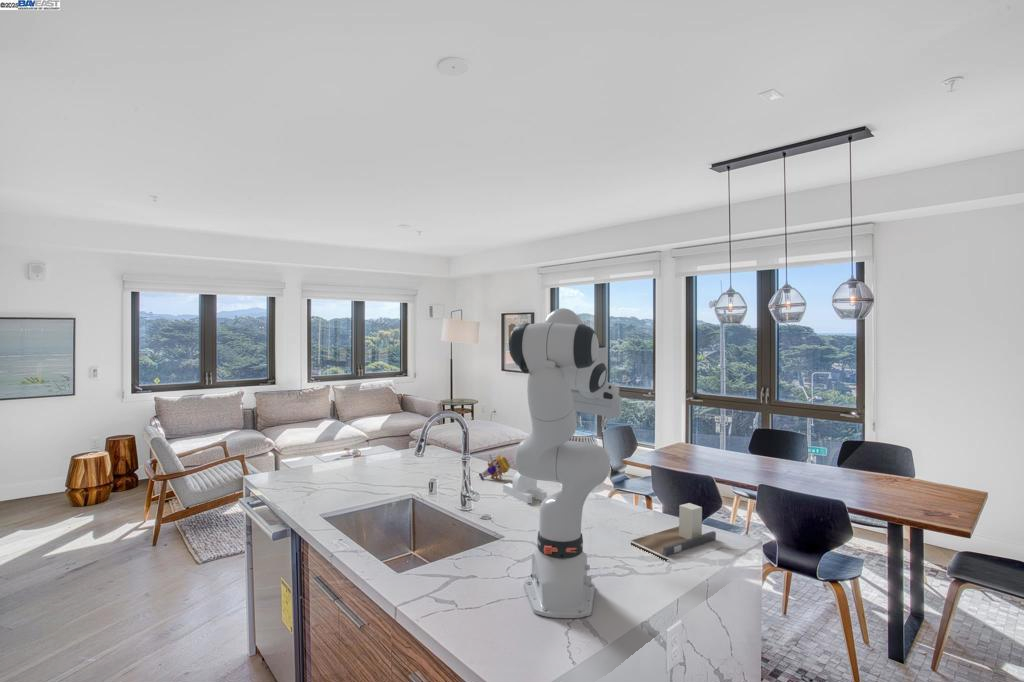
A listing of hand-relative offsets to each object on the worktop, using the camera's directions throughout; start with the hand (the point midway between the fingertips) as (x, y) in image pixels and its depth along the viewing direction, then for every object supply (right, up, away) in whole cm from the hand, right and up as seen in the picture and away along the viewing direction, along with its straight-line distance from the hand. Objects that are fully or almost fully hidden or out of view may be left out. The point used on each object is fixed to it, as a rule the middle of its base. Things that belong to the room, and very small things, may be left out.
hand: (590, 423), depth 176 cm
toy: (-35, -36, +61) cm, 79 cm away
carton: (+31, -36, -9) cm, 48 cm away
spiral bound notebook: (+25, -37, -12) cm, 46 cm away
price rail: (+29, -36, -17) cm, 49 cm away
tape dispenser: (-22, -37, +36) cm, 56 cm away
